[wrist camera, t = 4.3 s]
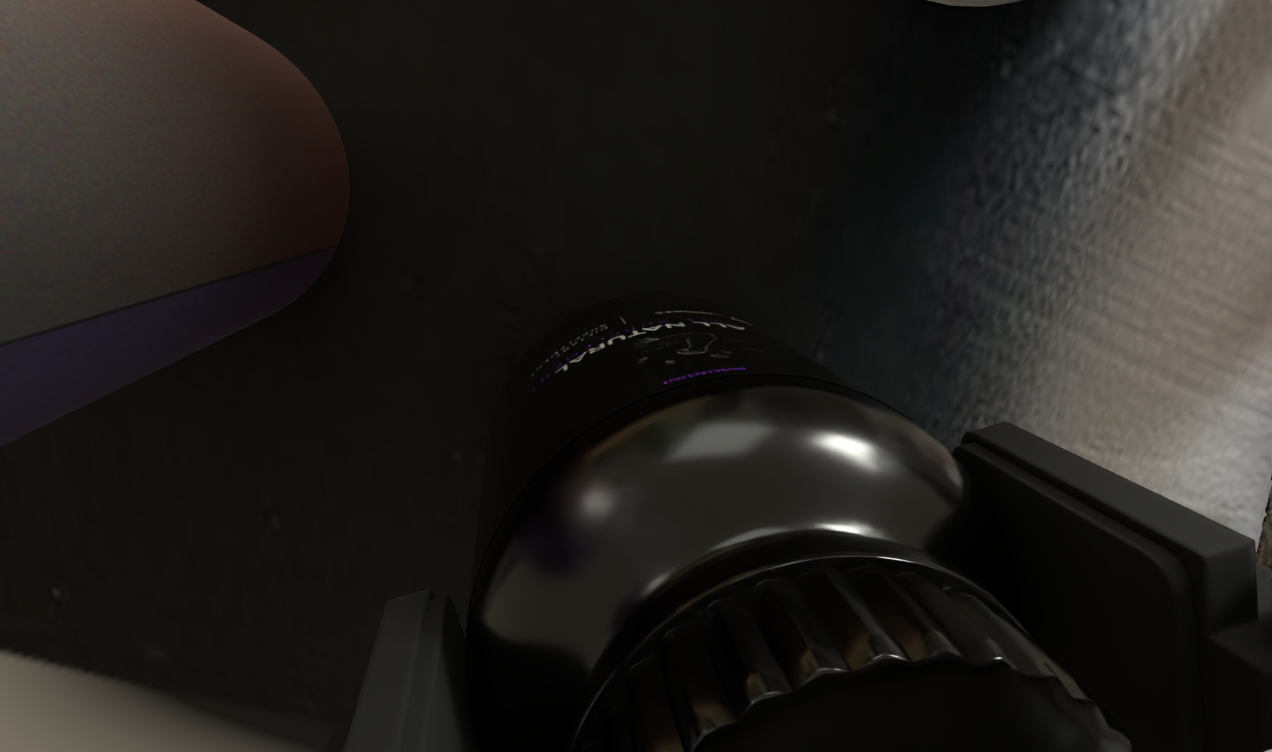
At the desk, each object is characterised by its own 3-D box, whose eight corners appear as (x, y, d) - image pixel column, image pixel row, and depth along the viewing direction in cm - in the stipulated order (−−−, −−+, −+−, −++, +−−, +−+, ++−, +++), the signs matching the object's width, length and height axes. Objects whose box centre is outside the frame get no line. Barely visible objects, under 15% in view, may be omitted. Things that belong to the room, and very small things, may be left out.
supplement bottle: (637, 216, 17) (944, 292, 5) (855, 427, 18) (1445, 834, 7) (413, 462, 17) (227, 1047, 6) (648, 645, 19) (878, 1370, 7)
